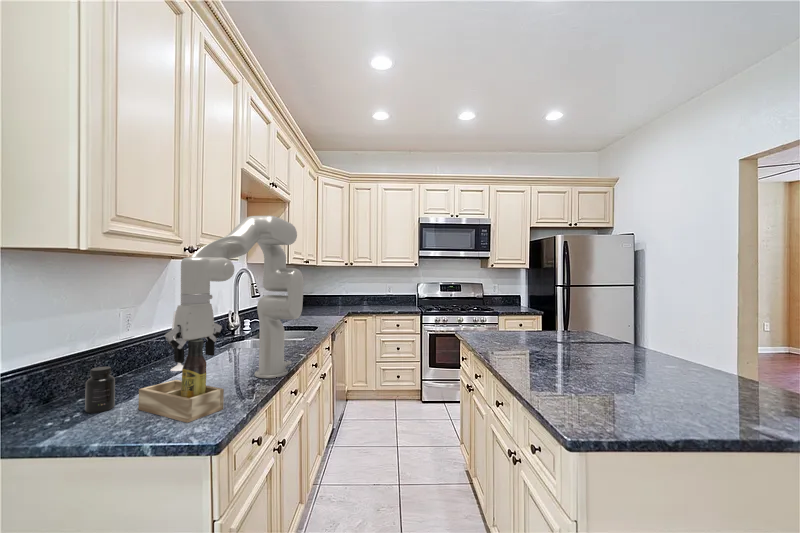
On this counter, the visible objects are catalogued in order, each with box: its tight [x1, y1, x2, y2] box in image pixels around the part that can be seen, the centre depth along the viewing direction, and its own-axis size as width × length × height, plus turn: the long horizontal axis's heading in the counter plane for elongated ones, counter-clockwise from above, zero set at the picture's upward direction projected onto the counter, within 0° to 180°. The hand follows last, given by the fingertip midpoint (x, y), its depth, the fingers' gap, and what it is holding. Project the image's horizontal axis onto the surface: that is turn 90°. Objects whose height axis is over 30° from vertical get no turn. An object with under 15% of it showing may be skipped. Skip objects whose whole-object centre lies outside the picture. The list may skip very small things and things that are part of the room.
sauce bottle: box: [181, 338, 207, 398], centre depth 110 cm, size 6×6×20 cm
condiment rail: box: [137, 379, 225, 424], centre depth 112 cm, size 11×22×6 cm, turn 65°
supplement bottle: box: [84, 366, 116, 414], centre depth 112 cm, size 7×7×12 cm
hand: (195, 358), depth 111 cm, fingers open, 9 cm apart
